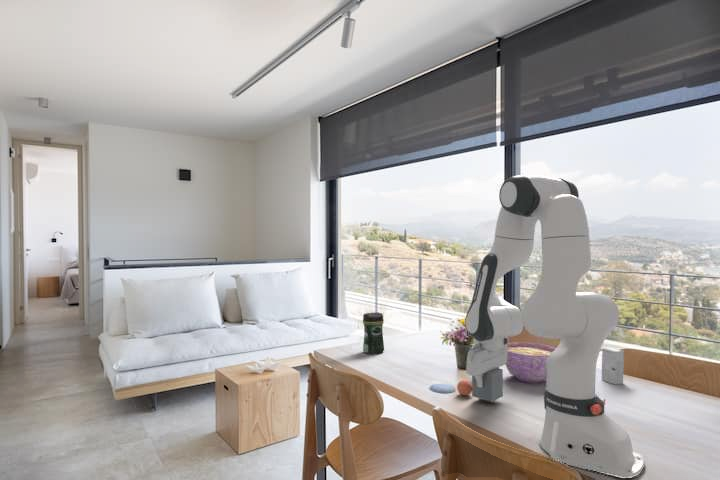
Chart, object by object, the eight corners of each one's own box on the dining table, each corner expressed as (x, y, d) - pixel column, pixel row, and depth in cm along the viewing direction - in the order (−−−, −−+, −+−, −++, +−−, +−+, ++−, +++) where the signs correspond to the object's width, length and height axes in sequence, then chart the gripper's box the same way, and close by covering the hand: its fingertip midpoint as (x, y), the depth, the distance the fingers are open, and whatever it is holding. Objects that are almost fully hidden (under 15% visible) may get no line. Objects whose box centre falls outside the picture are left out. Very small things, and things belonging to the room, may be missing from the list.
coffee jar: (379, 349, 208) (378, 310, 208) (386, 353, 200) (386, 313, 200) (360, 351, 204) (360, 312, 204) (367, 355, 196) (367, 314, 197)
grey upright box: (502, 396, 139) (502, 369, 139) (491, 402, 134) (491, 374, 134) (483, 390, 144) (483, 364, 144) (472, 396, 139) (472, 369, 139)
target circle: (460, 388, 152) (460, 388, 152) (445, 395, 145) (445, 394, 145) (439, 382, 158) (439, 382, 158) (424, 388, 152) (424, 388, 152)
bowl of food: (568, 388, 152) (568, 355, 152) (512, 388, 152) (512, 355, 152) (544, 371, 172) (544, 342, 172) (494, 371, 172) (494, 342, 172)
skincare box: (600, 379, 161) (600, 347, 161) (610, 378, 162) (610, 346, 162) (615, 385, 155) (614, 351, 155) (624, 383, 156) (624, 350, 157)
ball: (475, 395, 145) (475, 380, 145) (467, 398, 142) (467, 383, 142) (462, 391, 149) (462, 377, 149) (454, 395, 145) (454, 380, 145)
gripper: (479, 348, 130) (479, 394, 130) (511, 337, 144) (511, 378, 144) (461, 344, 134) (461, 388, 134) (493, 334, 149) (493, 374, 149)
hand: (487, 383), depth 139 cm, fingers closed on grey upright box, 7 cm apart
